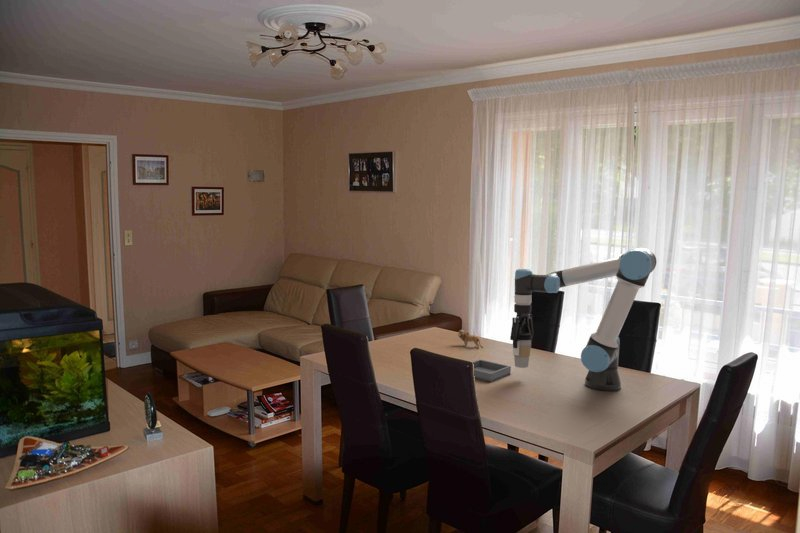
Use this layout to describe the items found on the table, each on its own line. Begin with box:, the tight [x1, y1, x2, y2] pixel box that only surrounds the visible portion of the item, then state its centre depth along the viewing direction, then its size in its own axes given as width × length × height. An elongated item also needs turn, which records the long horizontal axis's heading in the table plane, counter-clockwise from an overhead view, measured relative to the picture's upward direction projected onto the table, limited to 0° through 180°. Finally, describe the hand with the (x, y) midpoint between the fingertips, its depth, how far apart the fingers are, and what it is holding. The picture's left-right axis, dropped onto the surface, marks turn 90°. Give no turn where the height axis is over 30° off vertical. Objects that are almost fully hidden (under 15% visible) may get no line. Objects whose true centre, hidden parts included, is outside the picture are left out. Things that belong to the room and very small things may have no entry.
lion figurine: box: [457, 329, 484, 350], centre depth 332 cm, size 15×5×9 cm, turn 64°
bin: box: [472, 359, 512, 383], centre depth 280 cm, size 17×17×4 cm
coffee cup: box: [513, 331, 534, 369], centre depth 272 cm, size 9×9×15 cm
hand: (521, 352), depth 272 cm, fingers closed on coffee cup, 9 cm apart
